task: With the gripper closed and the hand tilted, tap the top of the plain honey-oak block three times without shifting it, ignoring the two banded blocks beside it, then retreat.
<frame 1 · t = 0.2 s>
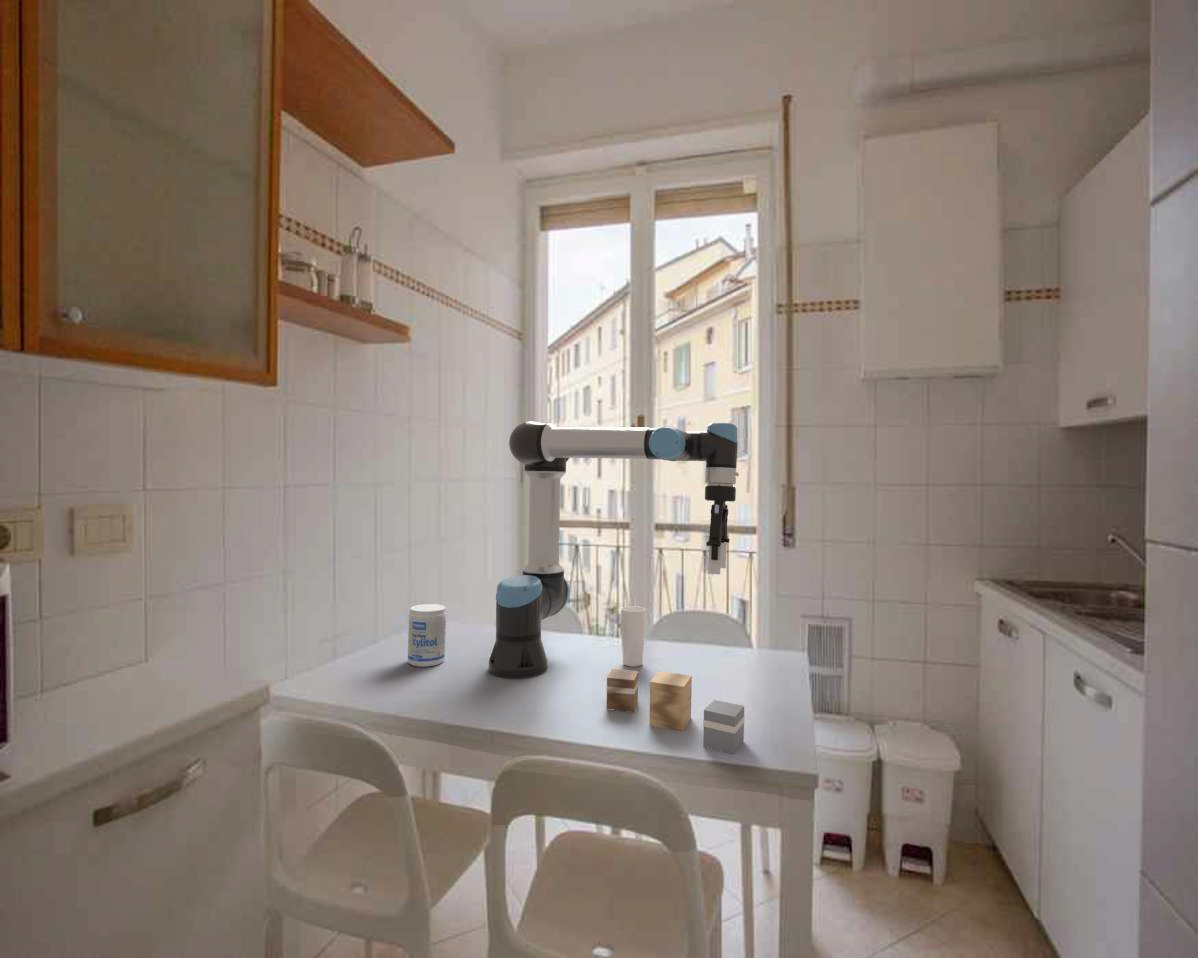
hand: (717, 570, 149), 27 cm above the table, tool pointing down, fingers open, 13 cm apart
supplement tub: (426, 662, 160), on the table
grey block: (723, 744, 114), on the table
drinking glass: (632, 664, 161), on the table
walnut block: (622, 705, 132), on the table
oak block: (670, 721, 124), on the table
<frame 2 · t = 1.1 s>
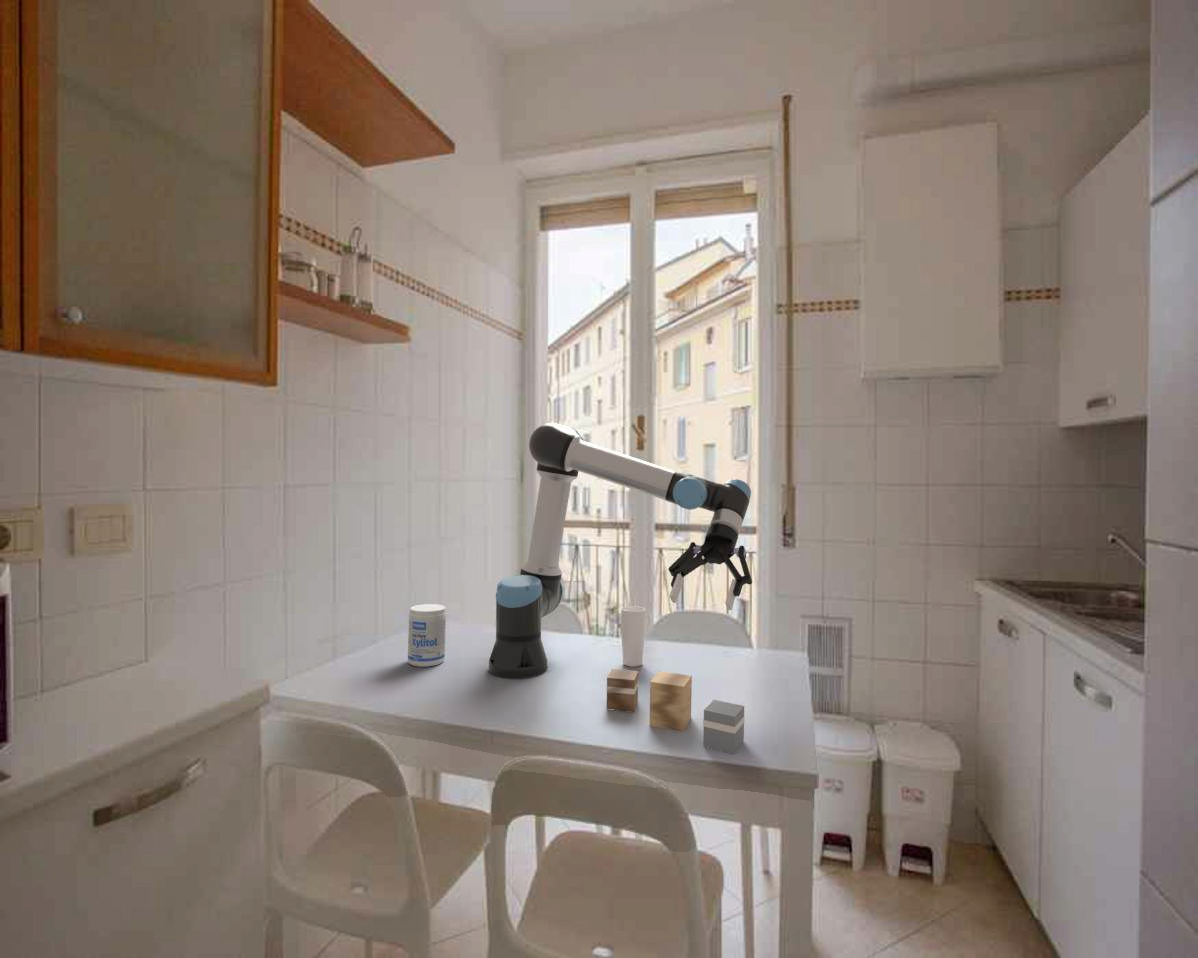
hand: (699, 603, 137), 22 cm above the table, tool tilted 45°, fingers open, 13 cm apart
nothing on the table moved.
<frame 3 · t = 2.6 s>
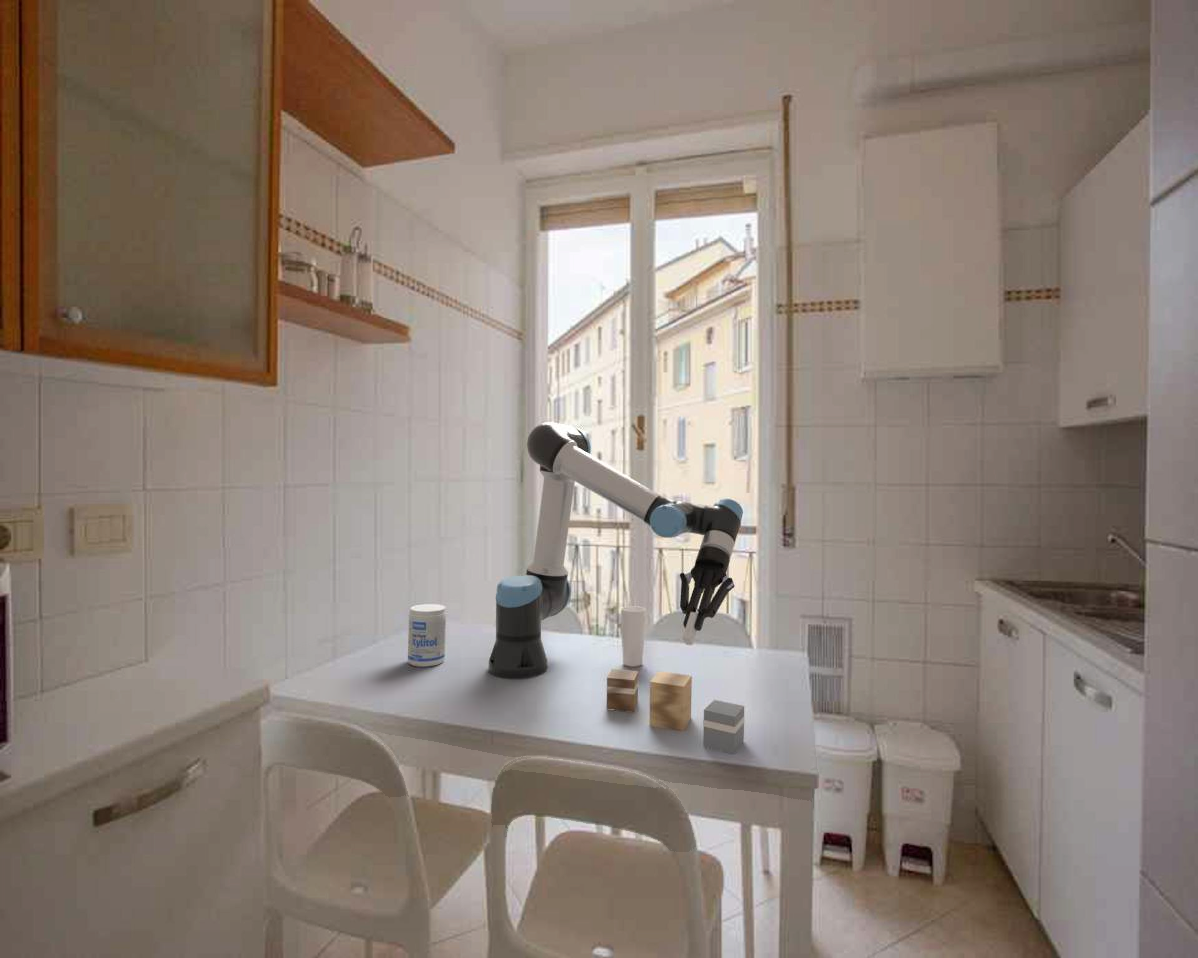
hand: (687, 641, 128), 16 cm above the table, tool tilted 45°, fingers closed
nothing on the table moved.
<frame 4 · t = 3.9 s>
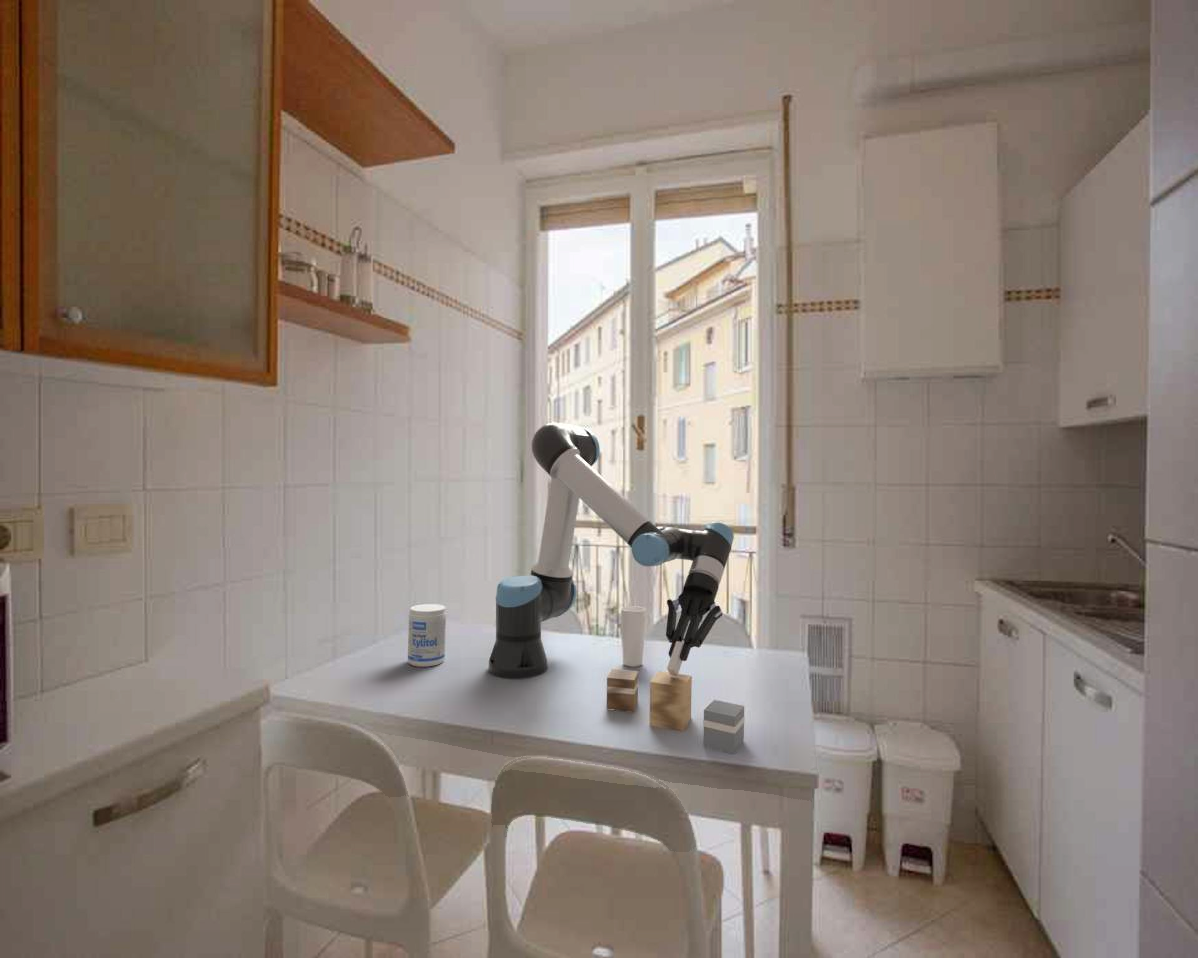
hand: (672, 672, 124), 10 cm above the table, tool tilted 45°, fingers closed
oak block: (670, 721, 124), on the table, touching gripper
everything else where it was.
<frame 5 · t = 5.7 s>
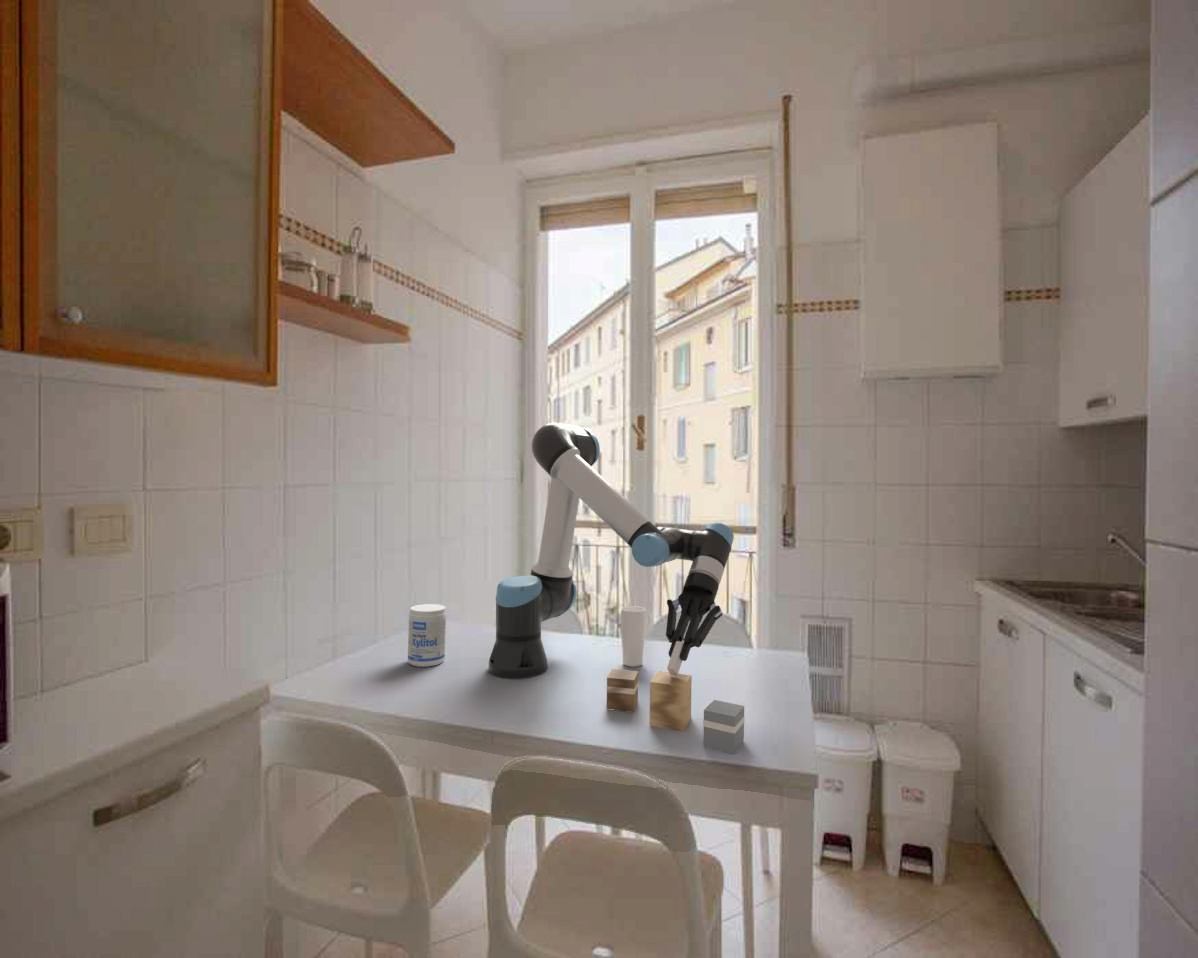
hand: (672, 672, 124), 10 cm above the table, tool tilted 45°, fingers closed
nothing on the table moved.
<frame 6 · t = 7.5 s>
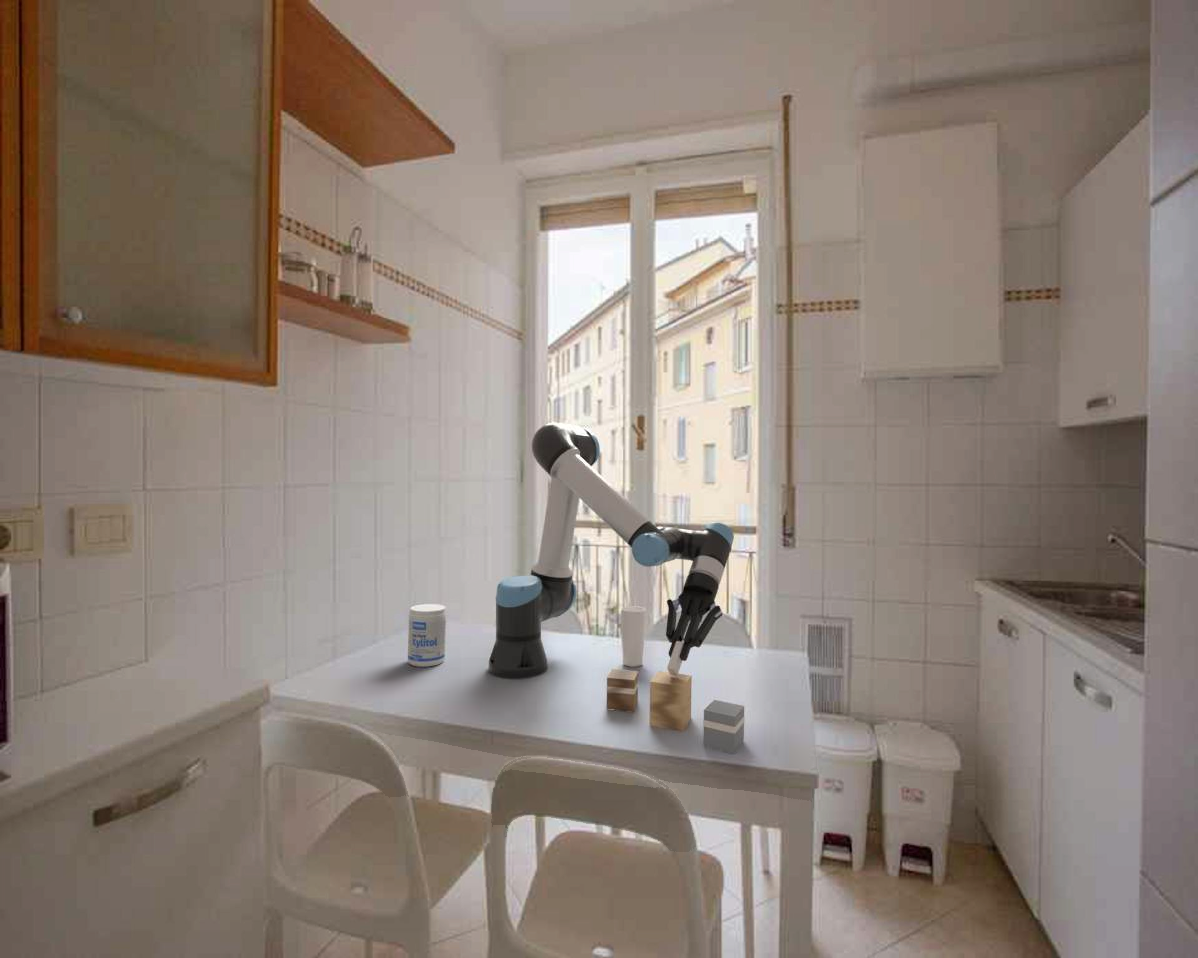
hand: (672, 672, 124), 10 cm above the table, tool tilted 45°, fingers closed
nothing on the table moved.
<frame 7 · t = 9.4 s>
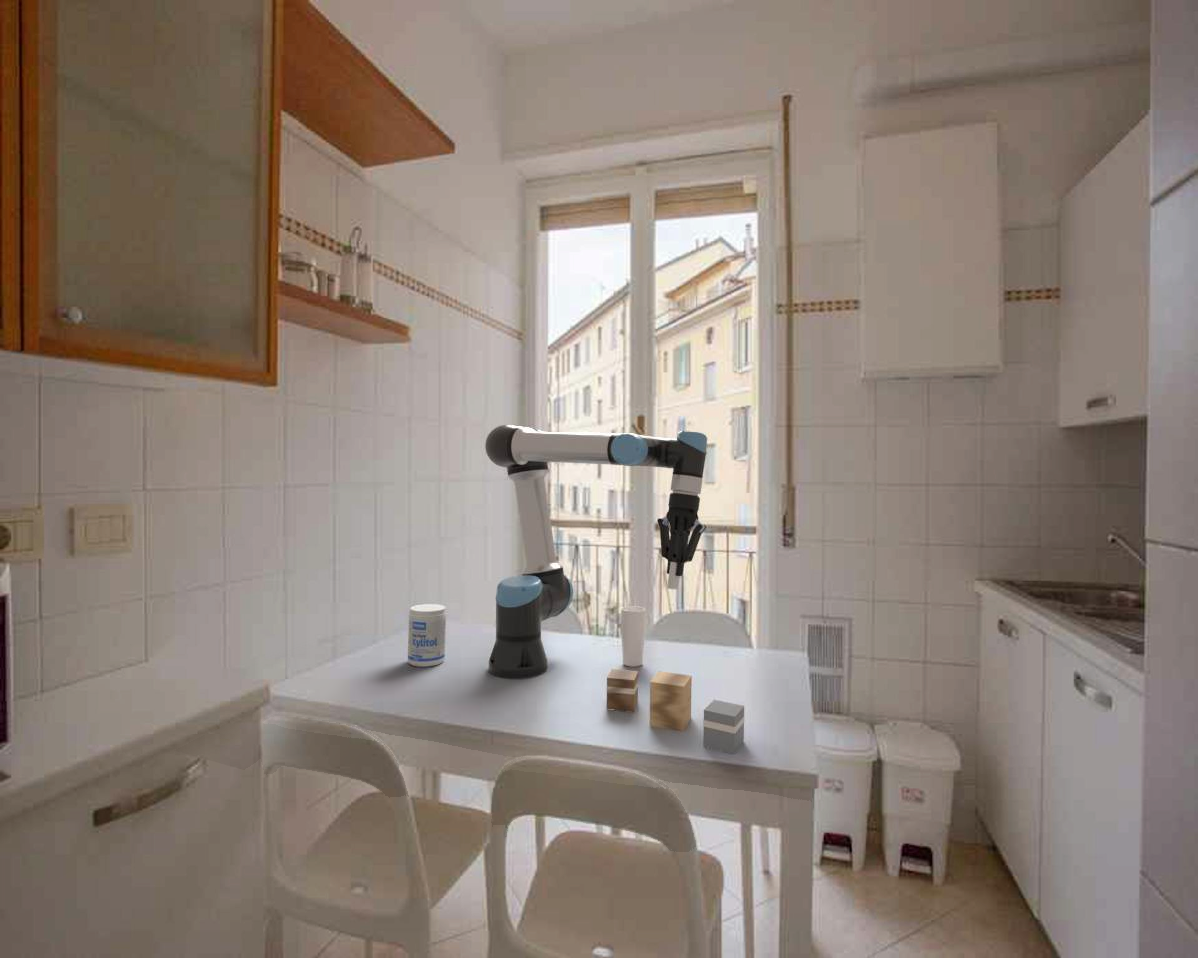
hand: (672, 588, 148), 23 cm above the table, tool pointing down, fingers closed
oak block: (670, 721, 124), on the table
everything else where it was.
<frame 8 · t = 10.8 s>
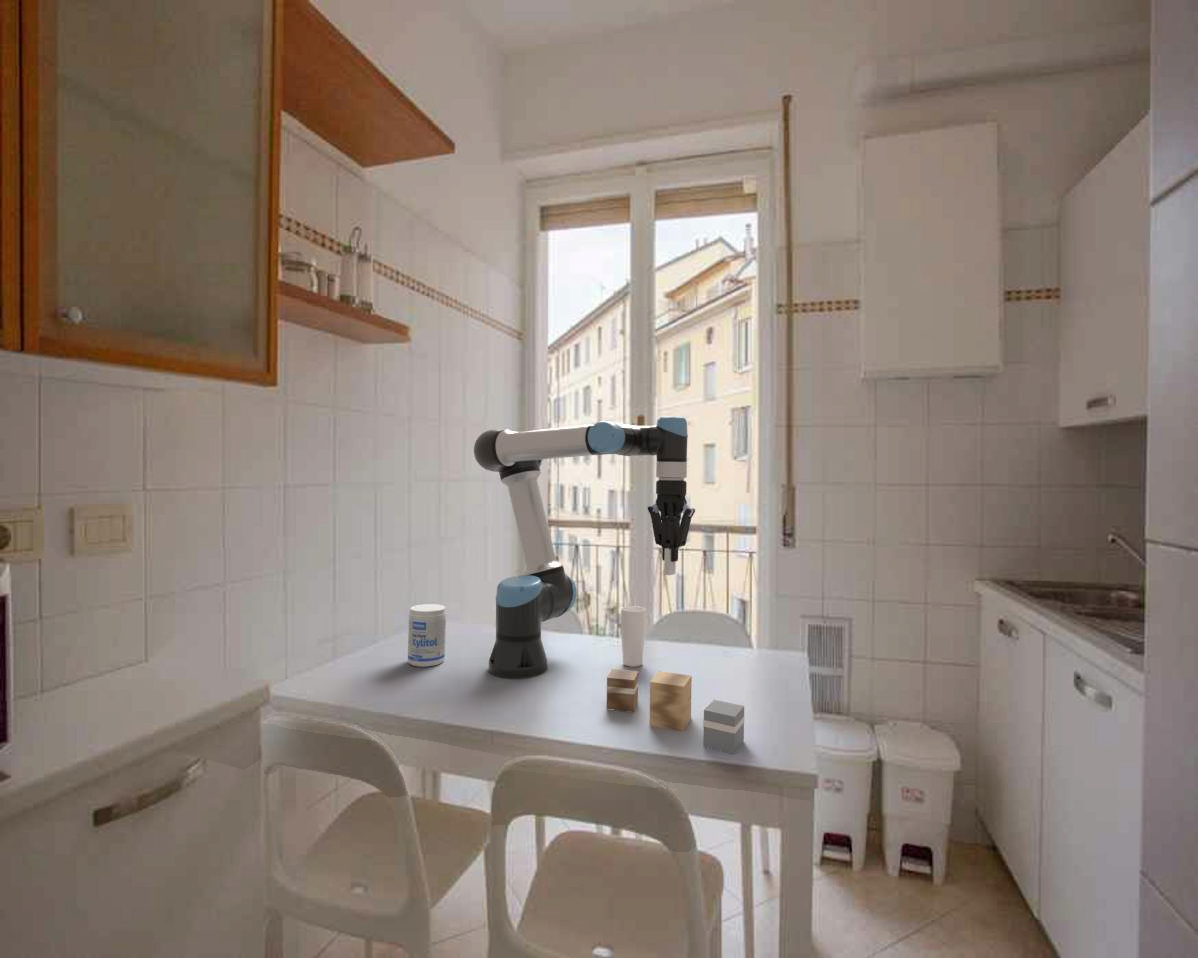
hand: (669, 574, 149), 26 cm above the table, tool pointing down, fingers closed
nothing on the table moved.
at the end: oak block moved 0.1 cm from its start; oak block tilted 0°; grey block moved 0.1 cm from its start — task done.
